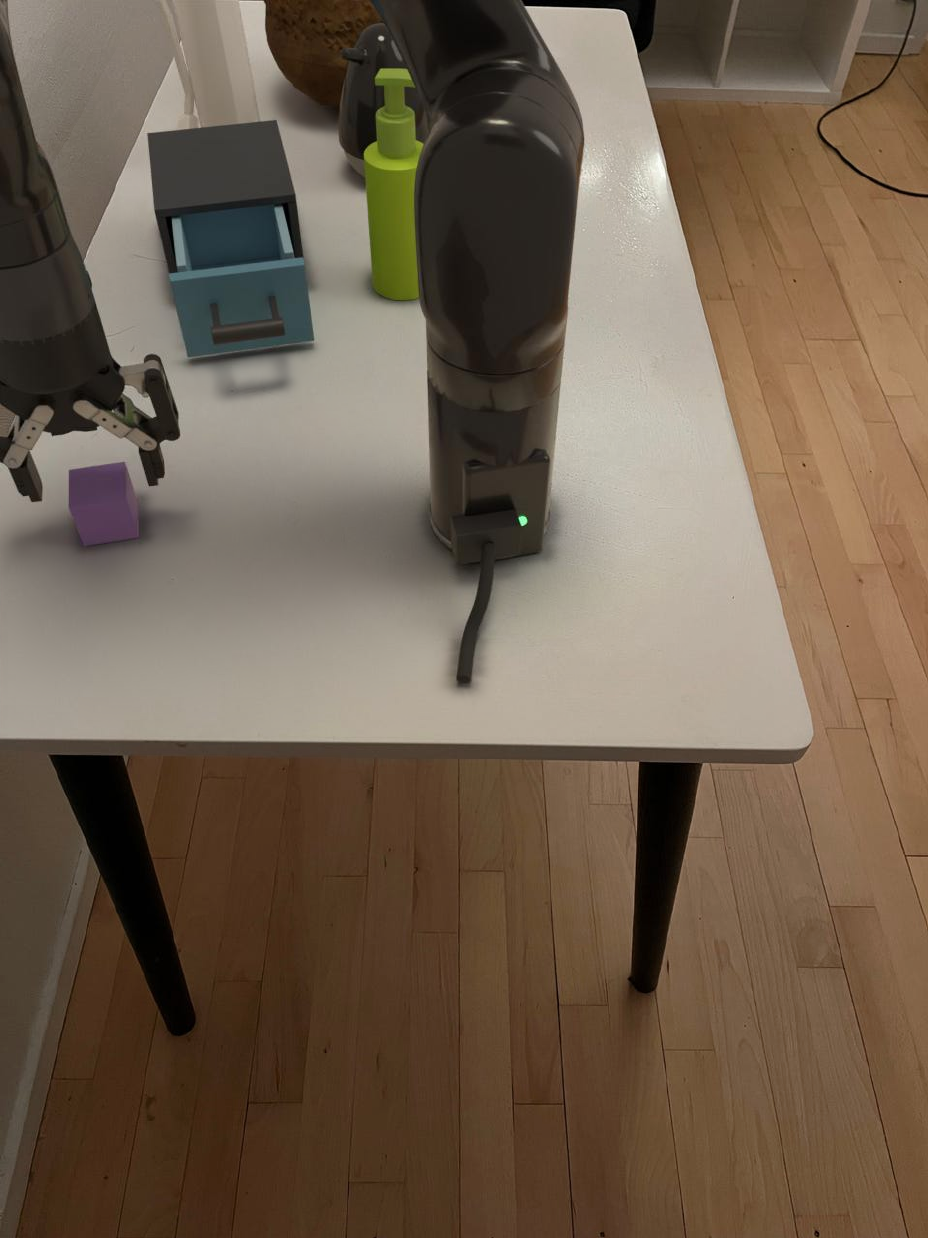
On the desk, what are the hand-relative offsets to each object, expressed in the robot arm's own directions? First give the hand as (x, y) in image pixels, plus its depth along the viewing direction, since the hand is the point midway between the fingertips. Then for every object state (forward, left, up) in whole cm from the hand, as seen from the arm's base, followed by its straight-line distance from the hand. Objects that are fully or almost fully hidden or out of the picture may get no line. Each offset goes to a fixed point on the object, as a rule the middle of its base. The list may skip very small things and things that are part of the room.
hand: (96, 486), depth 80 cm
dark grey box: (+36, -13, -4) cm, 38 cm away
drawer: (+22, -13, -3) cm, 26 cm away
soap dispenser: (+27, -29, -4) cm, 40 cm away
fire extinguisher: (+56, -14, -4) cm, 57 cm away
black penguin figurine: (+49, -31, -4) cm, 58 cm away
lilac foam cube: (0, 0, -4) cm, 4 cm away
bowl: (+67, -30, -4) cm, 73 cm away
